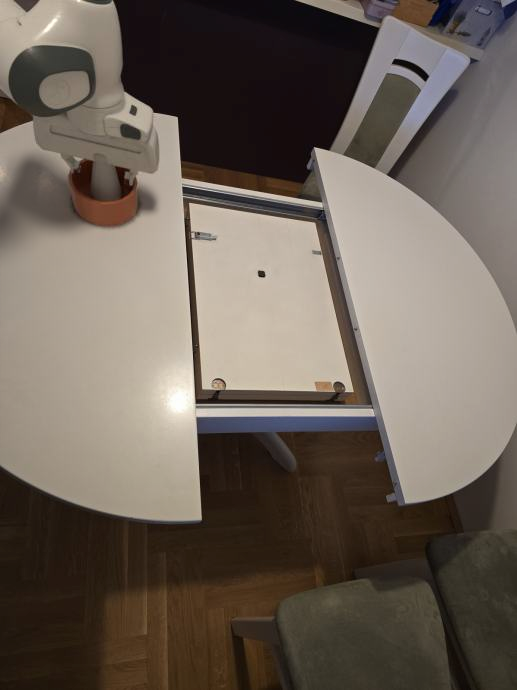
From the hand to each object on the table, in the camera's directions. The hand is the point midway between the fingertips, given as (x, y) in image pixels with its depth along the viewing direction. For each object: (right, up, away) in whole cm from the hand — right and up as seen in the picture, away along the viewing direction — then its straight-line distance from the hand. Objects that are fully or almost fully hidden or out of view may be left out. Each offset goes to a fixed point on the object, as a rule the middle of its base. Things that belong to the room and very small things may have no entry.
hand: (103, 177), depth 74 cm
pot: (-2, -3, +6) cm, 7 cm away
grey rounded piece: (-1, -3, +5) cm, 6 cm away
